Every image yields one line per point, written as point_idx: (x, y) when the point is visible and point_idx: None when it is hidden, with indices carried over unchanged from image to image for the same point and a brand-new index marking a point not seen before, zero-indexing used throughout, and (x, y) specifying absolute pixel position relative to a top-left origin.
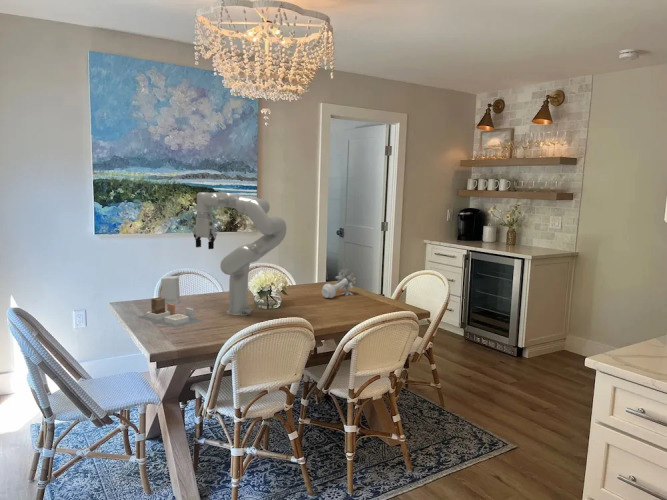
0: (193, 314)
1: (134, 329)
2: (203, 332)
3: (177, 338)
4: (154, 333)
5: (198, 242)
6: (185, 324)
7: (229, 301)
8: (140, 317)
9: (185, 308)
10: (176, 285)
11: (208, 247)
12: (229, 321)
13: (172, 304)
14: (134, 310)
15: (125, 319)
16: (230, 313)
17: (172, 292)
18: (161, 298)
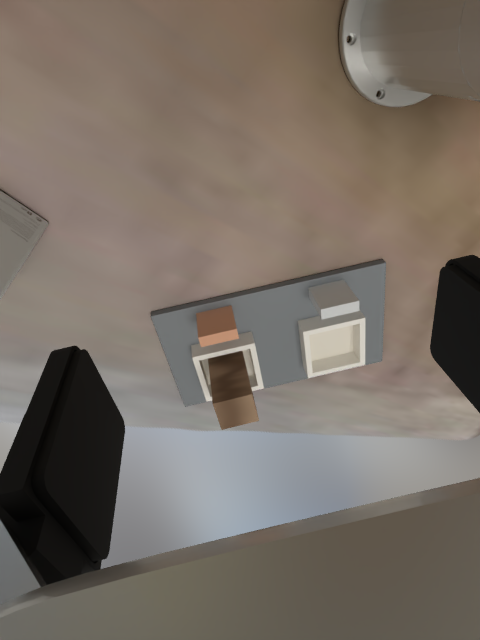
0: (350, 290)
1: (287, 429)
2: None
3: (443, 377)
4: (359, 404)
5: (94, 478)
6: (377, 328)
7: (412, 88)
8: (197, 402)
9: (321, 318)
10: (7, 272)
11: (453, 373)
12: (461, 163)
13: (227, 335)
14: None
15: (167, 426)
16: (407, 99)
17: (17, 272)
18: (239, 402)
